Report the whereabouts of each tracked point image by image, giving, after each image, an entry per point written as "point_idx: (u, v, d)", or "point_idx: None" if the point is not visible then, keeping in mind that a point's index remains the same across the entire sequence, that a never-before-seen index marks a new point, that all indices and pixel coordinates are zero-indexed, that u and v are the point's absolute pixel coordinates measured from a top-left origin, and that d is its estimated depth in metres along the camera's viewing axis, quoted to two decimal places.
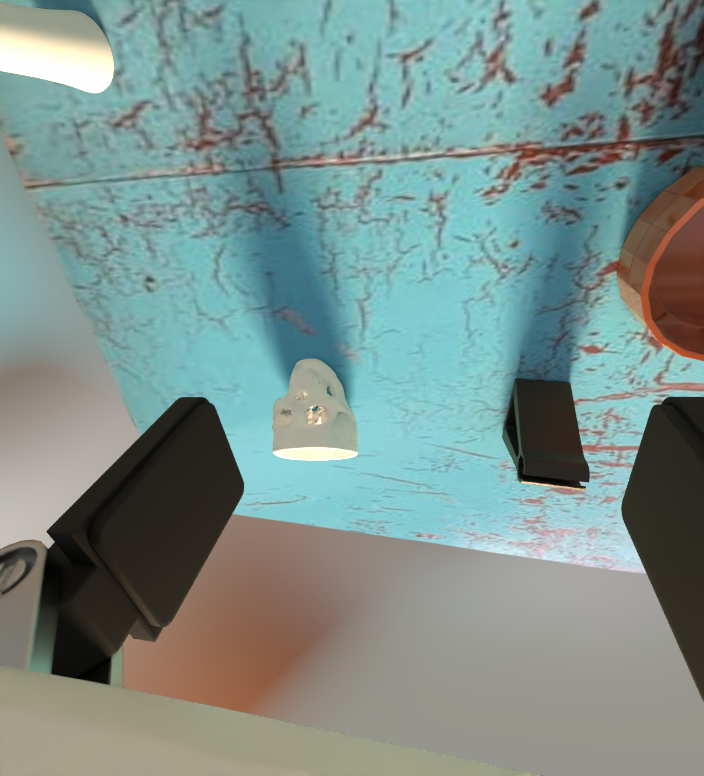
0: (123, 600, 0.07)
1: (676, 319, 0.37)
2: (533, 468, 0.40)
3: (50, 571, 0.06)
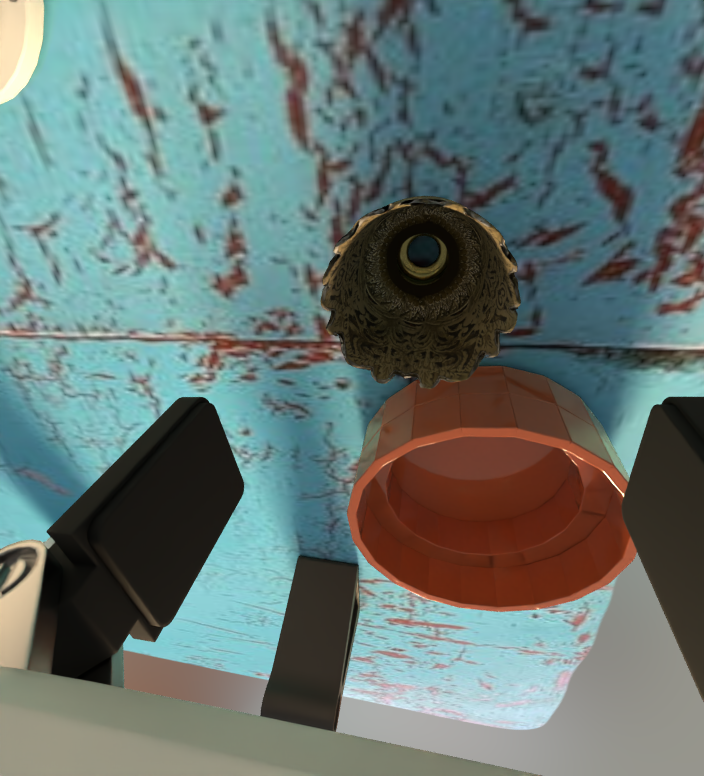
0: (123, 600, 0.07)
1: (429, 542, 0.29)
2: (271, 710, 0.32)
3: (50, 571, 0.06)
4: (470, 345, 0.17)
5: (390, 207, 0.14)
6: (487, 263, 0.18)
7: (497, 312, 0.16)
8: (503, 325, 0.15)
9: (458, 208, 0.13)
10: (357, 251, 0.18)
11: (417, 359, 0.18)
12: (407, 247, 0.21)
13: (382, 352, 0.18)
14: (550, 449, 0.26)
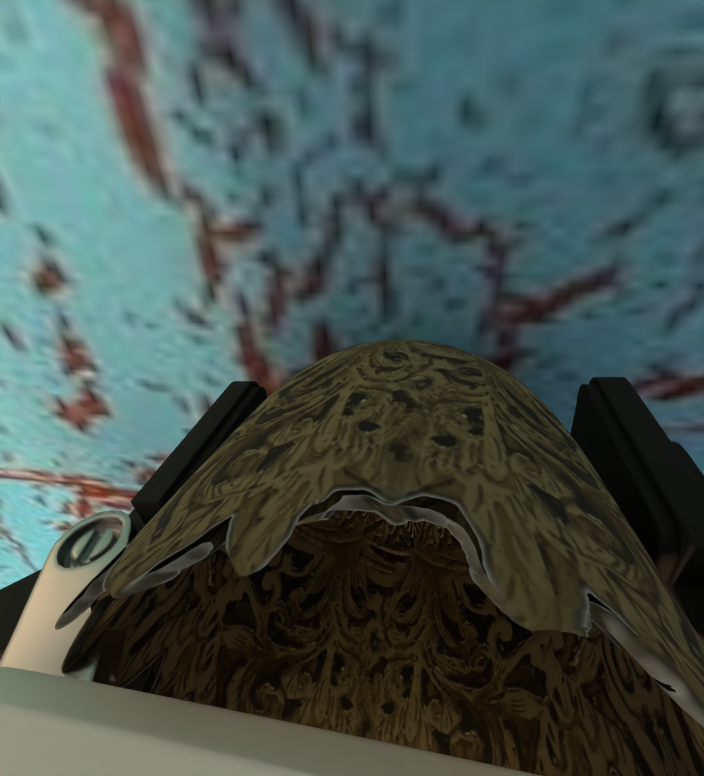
0: None
1: None
2: None
3: None
4: (523, 720, 0.07)
5: None
6: None
7: (608, 687, 0.06)
8: None
9: None
10: None
11: (391, 700, 0.08)
12: None
13: (309, 681, 0.08)
14: None
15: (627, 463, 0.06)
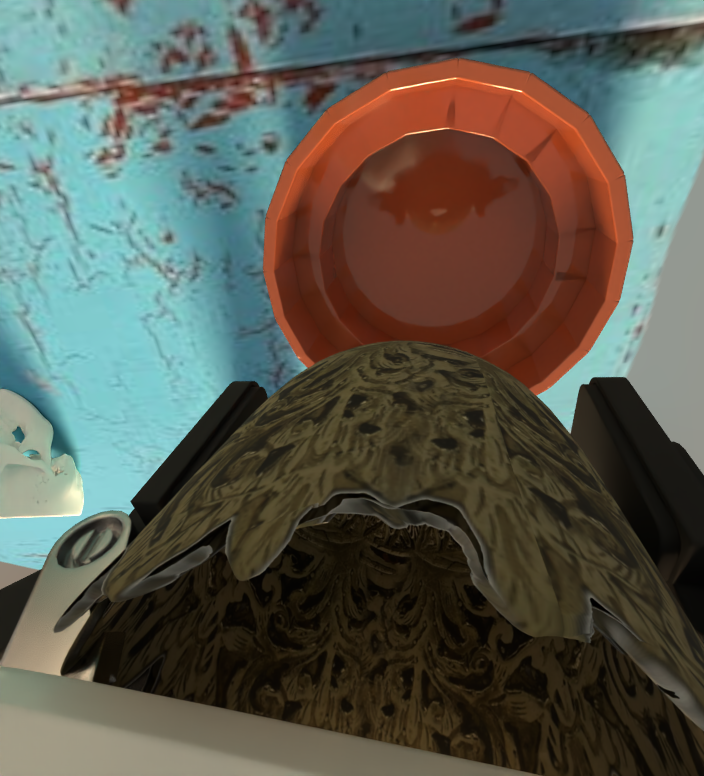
0: None
1: None
2: None
3: None
4: (524, 722, 0.07)
5: (232, 552, 0.03)
6: None
7: (609, 689, 0.06)
8: None
9: None
10: None
11: (392, 702, 0.08)
12: None
13: (309, 683, 0.08)
14: (521, 214, 0.21)
15: (627, 463, 0.06)
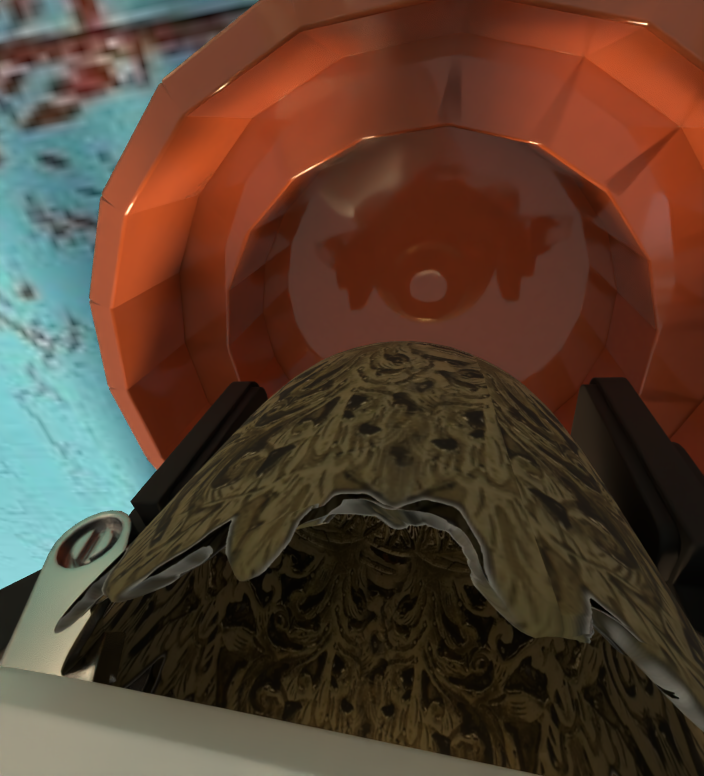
0: None
1: None
2: None
3: None
4: (524, 722, 0.07)
5: (232, 552, 0.03)
6: None
7: (609, 690, 0.06)
8: None
9: None
10: None
11: (392, 702, 0.08)
12: None
13: (309, 683, 0.08)
14: (573, 274, 0.12)
15: (627, 463, 0.06)
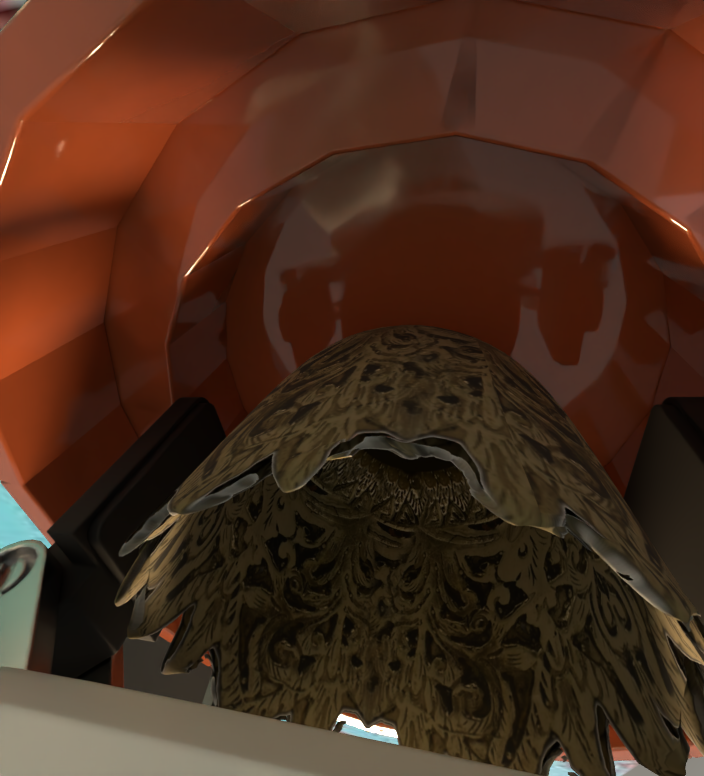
0: None
1: None
2: None
3: (50, 571, 0.06)
4: (520, 671, 0.07)
5: None
6: None
7: (594, 634, 0.06)
8: (629, 727, 0.05)
9: (533, 522, 0.03)
10: None
11: (398, 659, 0.08)
12: None
13: (321, 641, 0.09)
14: (613, 323, 0.10)
15: None
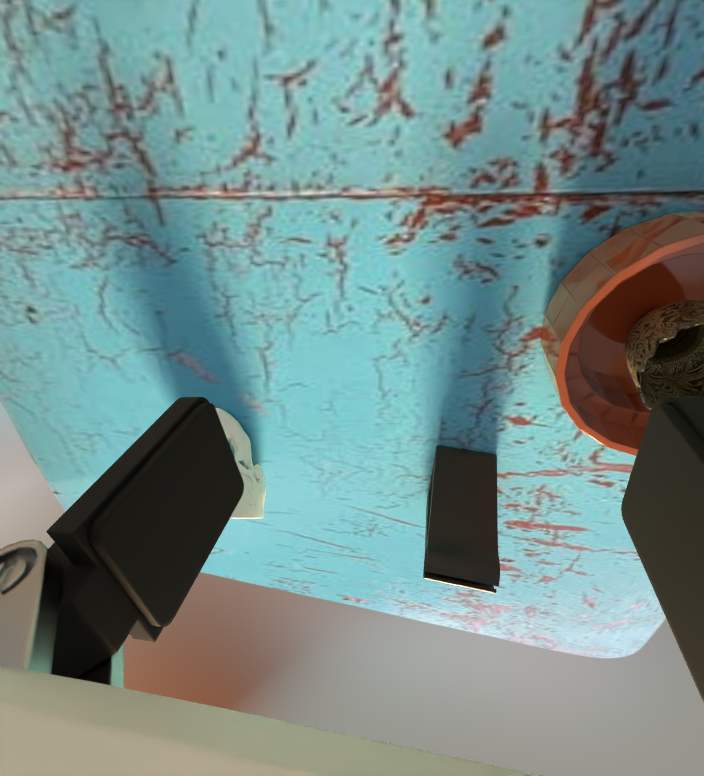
0: (122, 600, 0.07)
1: (604, 401, 0.31)
2: (436, 564, 0.33)
3: (50, 571, 0.06)
4: None
5: None
6: None
7: None
8: None
9: None
10: None
11: None
12: None
13: (652, 398, 0.27)
14: None
15: None
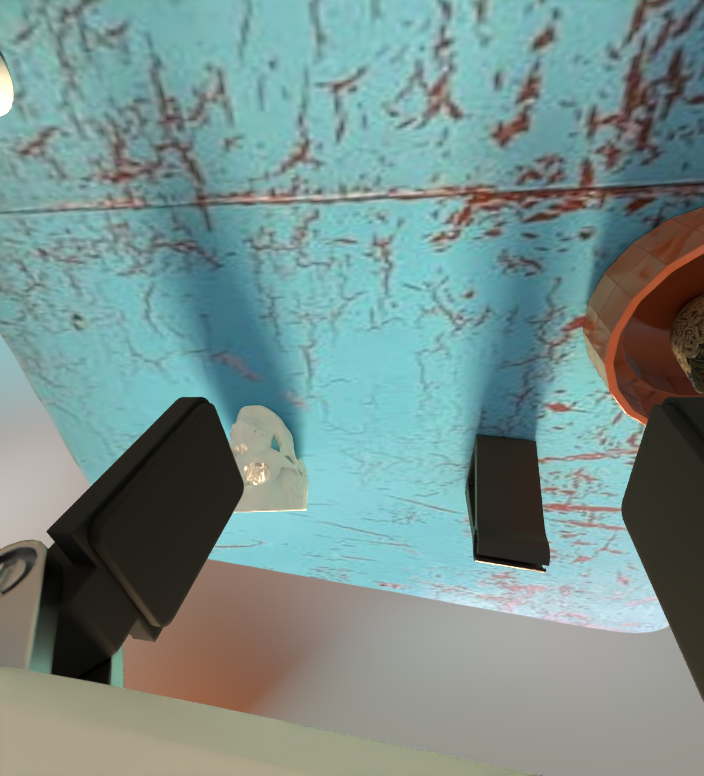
0: (123, 601, 0.07)
1: (648, 386, 0.33)
2: (487, 547, 0.35)
3: (50, 571, 0.06)
4: None
5: None
6: None
7: None
8: None
9: None
10: None
11: None
12: None
13: (699, 382, 0.28)
14: None
15: None
